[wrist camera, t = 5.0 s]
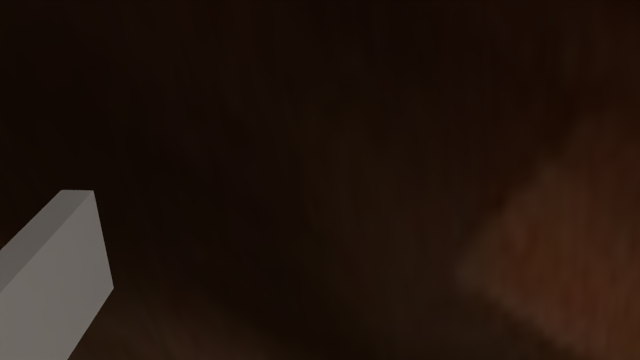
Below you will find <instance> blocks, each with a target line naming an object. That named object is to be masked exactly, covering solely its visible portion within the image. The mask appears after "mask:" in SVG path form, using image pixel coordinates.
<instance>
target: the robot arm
mask: <svg viewBox="0 0 640 360" xmlns="http://www.w3.org/2000/svg"><path fill="white" fill-rule="evenodd" d="M113 288H114V287H113V282H112V277H111V272H110V268H109V263H108V258H107V253H106V248H105V244H104V239H103V234H102V229H101V225H100V220H99V215H98V210H97V205H96V201H95V196H94V191H89V190H61V191H60V192H59V193H58V194H57V195H56V196H55V197H54V198H53V199H52V200H51V201H50V202H49V203H48V204H47V205H46V206H45V207H44V208H43V209H42V210H41V211H40V212H39V213H38V214H37V215H36V216H35V217H34V218H33V219H32V220H31V221H30V222H29V223H28V224H27V225H25V226H24V227H23V228H22V229H21V230H20V231H19V232H18V233H17V234H16V235H15V236H14V237H13V238H12V239H11V240H10V241H9V242H8V243H7V244H6V245H5V246H4V247H3V248H2V249H1V250H0V360H67V359H68V358H69V356H70V355H71V353H72V351H73V350H74V348H75V347H76V345H77V344H78V342H79V341H80V339H81V338H82V336H83V334H84V333H85V331H86V330H87V328H88V327H89V325H90V324H91V322H92V321H93V319H94V318H95V316H96V314H97V313H98V311H99V310H100V308H101V307H102V305H103V304H104V302H105V301H106V299H107V297H108V296H109V294H110V293H111V291H112V290H113Z"/></svg>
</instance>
